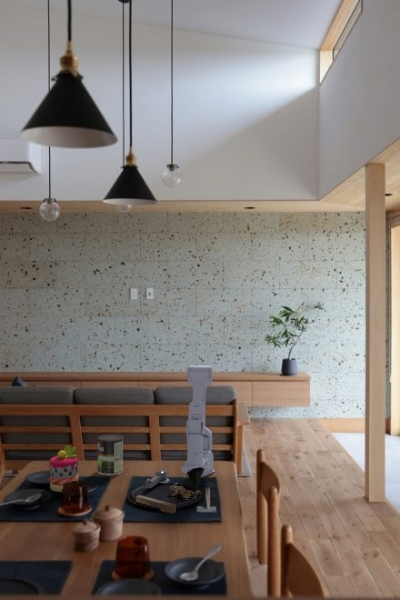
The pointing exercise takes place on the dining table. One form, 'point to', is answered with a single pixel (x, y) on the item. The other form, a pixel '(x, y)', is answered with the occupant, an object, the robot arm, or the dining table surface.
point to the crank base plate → (164, 481)
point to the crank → (155, 478)
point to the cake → (63, 468)
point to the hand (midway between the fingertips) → (194, 487)
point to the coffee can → (110, 454)
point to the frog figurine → (182, 491)
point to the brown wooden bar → (157, 504)
